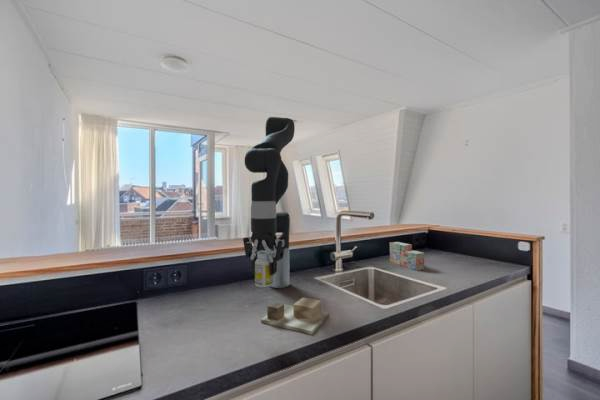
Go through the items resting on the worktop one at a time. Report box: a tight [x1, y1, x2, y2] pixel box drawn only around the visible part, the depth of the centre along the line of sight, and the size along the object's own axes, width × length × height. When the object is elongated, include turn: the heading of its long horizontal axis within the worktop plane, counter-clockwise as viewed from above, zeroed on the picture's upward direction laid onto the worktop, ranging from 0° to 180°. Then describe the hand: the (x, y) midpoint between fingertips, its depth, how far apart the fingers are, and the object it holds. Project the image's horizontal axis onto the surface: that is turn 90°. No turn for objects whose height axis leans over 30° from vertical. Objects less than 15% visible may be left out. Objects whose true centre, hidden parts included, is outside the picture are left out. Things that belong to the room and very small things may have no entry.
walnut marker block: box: [266, 301, 285, 321], centre depth 92 cm, size 4×4×4 cm
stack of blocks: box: [389, 241, 425, 271], centre depth 162 cm, size 21×6×12 cm, turn 21°
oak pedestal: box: [292, 297, 322, 320], centre depth 94 cm, size 7×7×4 cm
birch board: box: [260, 303, 330, 335], centre depth 92 cm, size 18×14×1 cm
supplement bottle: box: [254, 250, 273, 288], centre depth 83 cm, size 5×5×10 cm
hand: (264, 272), depth 83 cm, fingers closed on supplement bottle, 5 cm apart
